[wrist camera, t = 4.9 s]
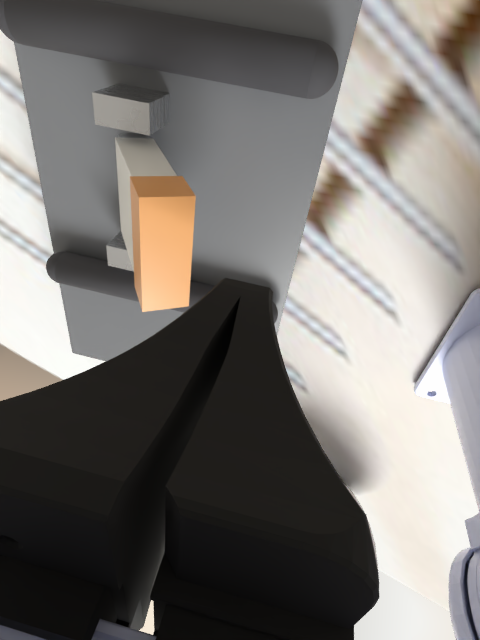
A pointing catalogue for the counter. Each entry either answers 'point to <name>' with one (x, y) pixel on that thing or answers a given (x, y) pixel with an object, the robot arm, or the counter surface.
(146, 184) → the lever
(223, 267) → the box
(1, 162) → the counter surface
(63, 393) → the robot arm
